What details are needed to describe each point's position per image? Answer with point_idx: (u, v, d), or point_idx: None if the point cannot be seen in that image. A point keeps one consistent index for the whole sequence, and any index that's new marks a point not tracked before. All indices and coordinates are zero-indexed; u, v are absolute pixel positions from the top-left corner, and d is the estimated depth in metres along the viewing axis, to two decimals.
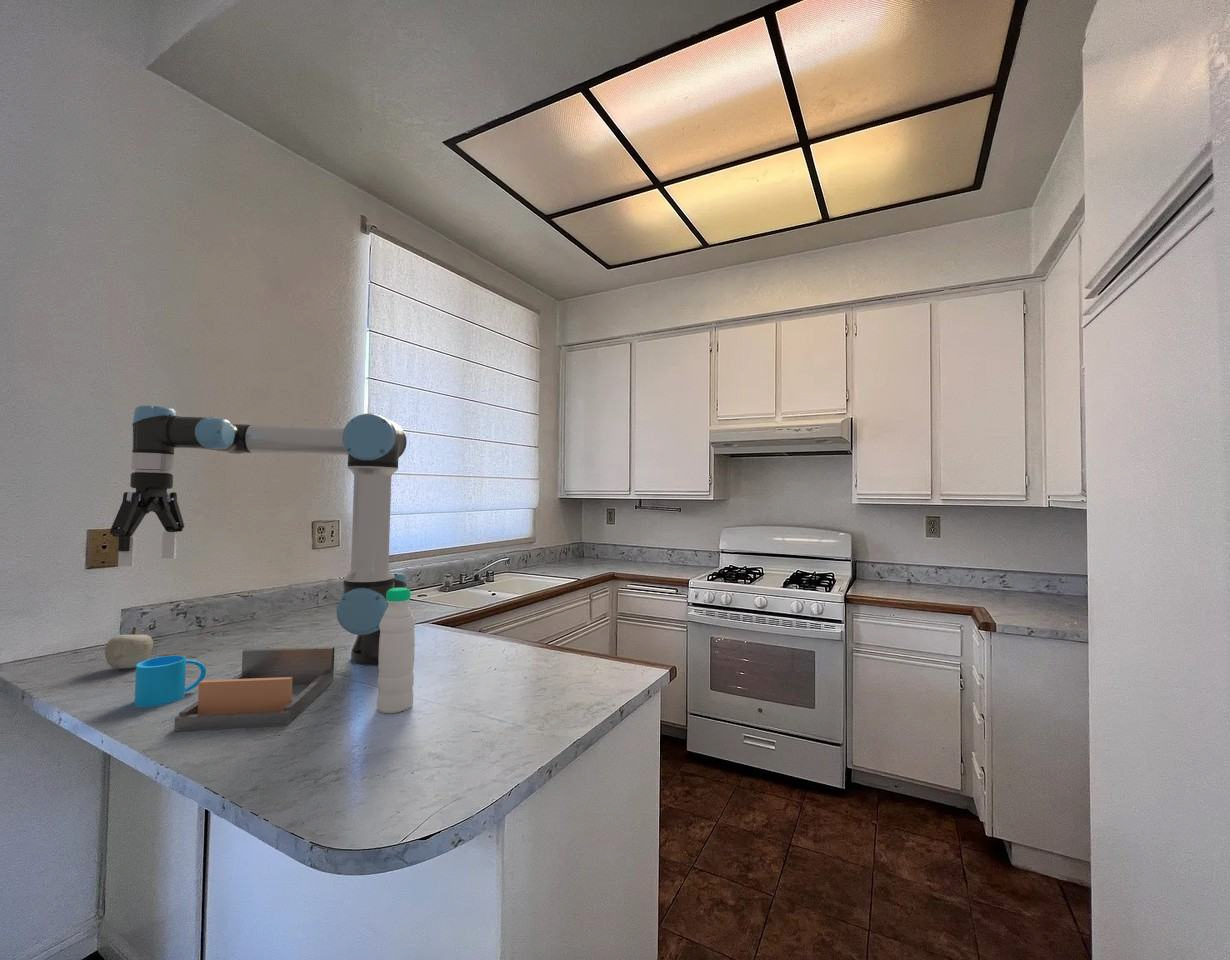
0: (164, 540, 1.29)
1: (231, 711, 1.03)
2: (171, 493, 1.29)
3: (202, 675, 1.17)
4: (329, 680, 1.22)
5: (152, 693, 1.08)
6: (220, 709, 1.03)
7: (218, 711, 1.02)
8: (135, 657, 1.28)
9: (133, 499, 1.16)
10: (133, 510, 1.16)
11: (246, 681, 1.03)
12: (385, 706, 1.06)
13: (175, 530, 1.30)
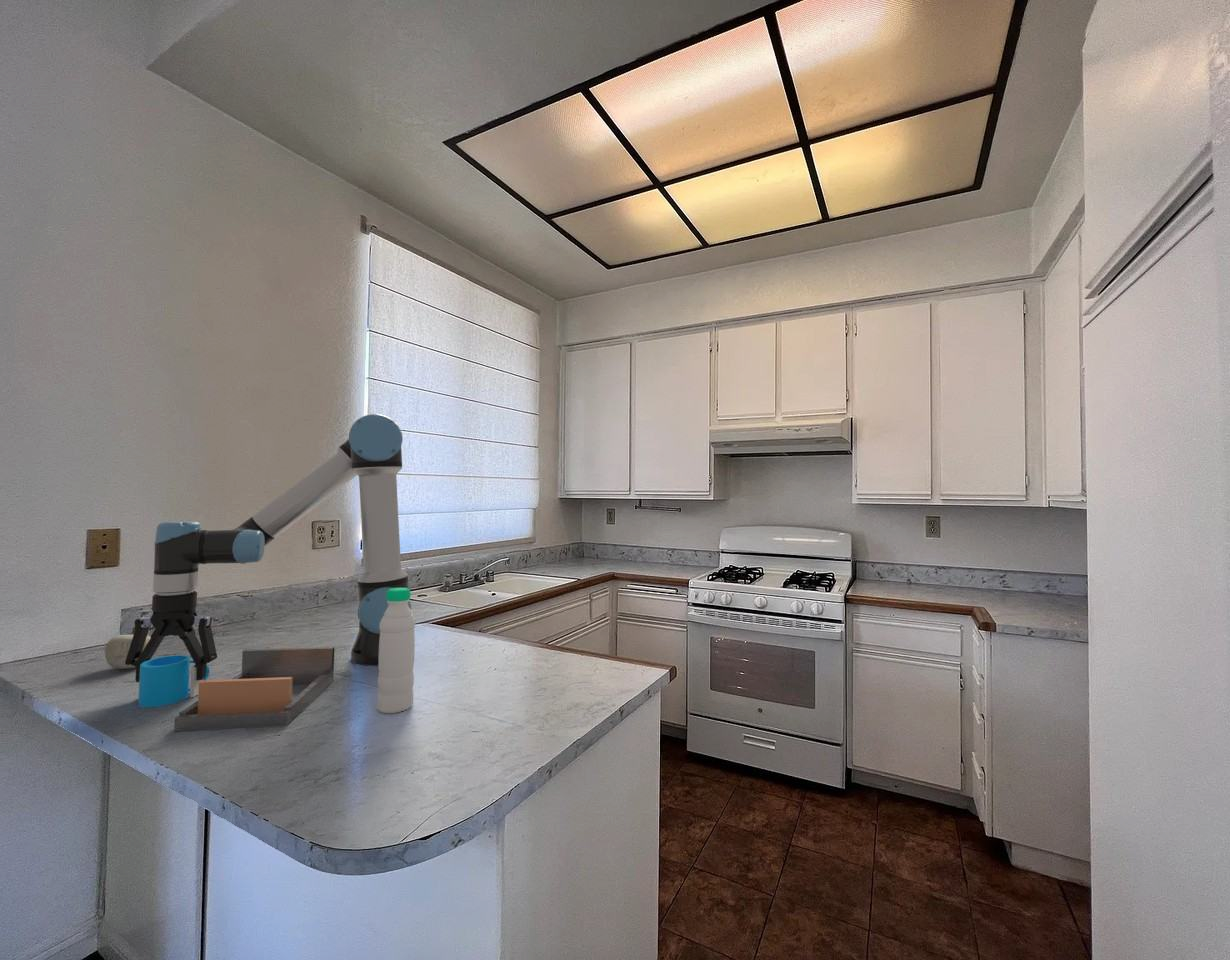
0: None
1: (231, 711, 1.03)
2: None
3: (206, 675, 1.18)
4: (329, 680, 1.22)
5: (156, 693, 1.08)
6: (220, 709, 1.03)
7: (218, 711, 1.02)
8: None
9: None
10: (135, 638, 1.11)
11: (246, 681, 1.03)
12: (385, 706, 1.06)
13: None
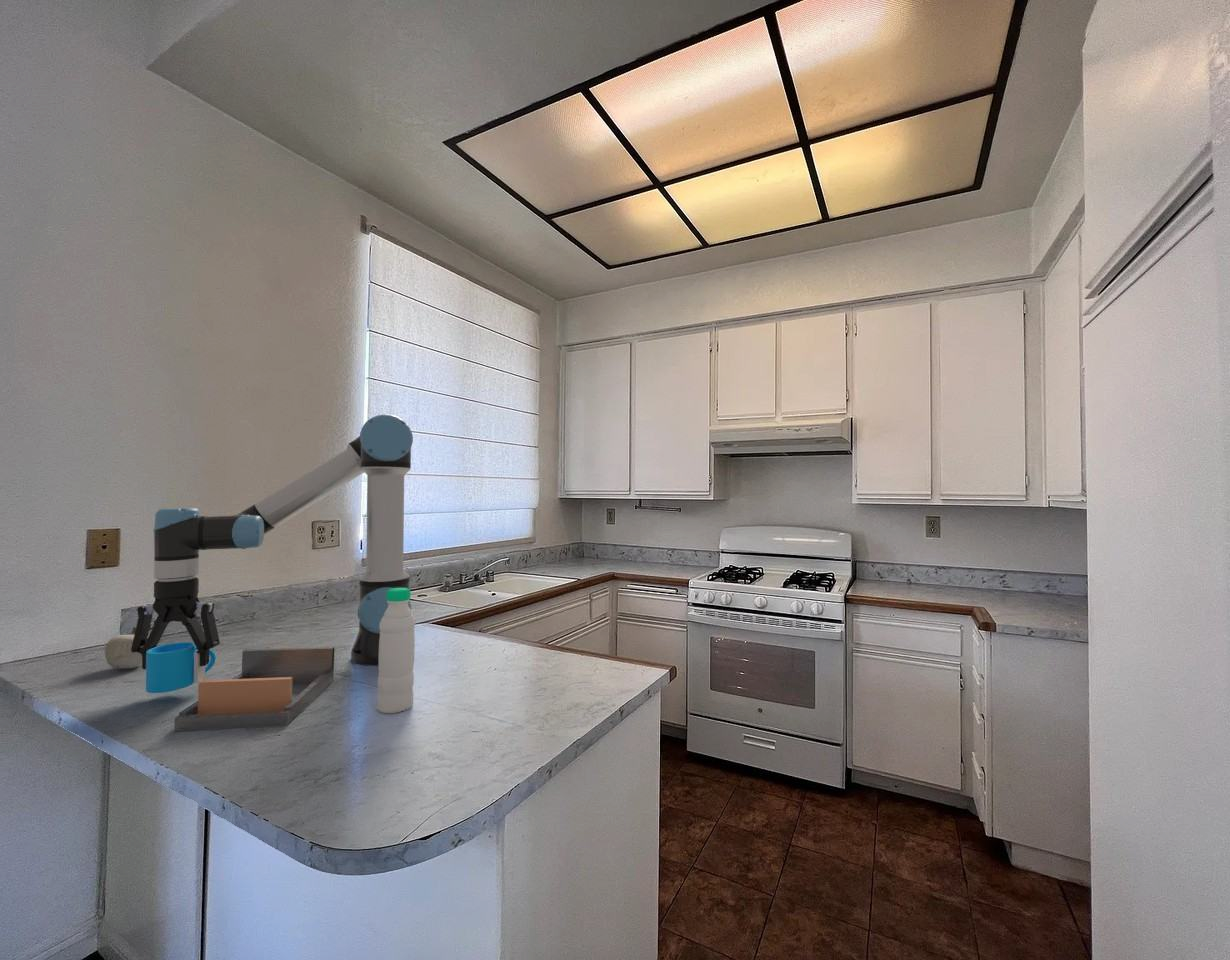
0: None
1: (231, 711, 1.03)
2: (204, 604, 1.14)
3: (212, 661, 1.18)
4: (329, 680, 1.22)
5: (163, 679, 1.09)
6: (220, 709, 1.03)
7: (218, 711, 1.02)
8: (135, 657, 1.28)
9: None
10: (139, 626, 1.12)
11: (246, 681, 1.03)
12: (385, 706, 1.06)
13: None
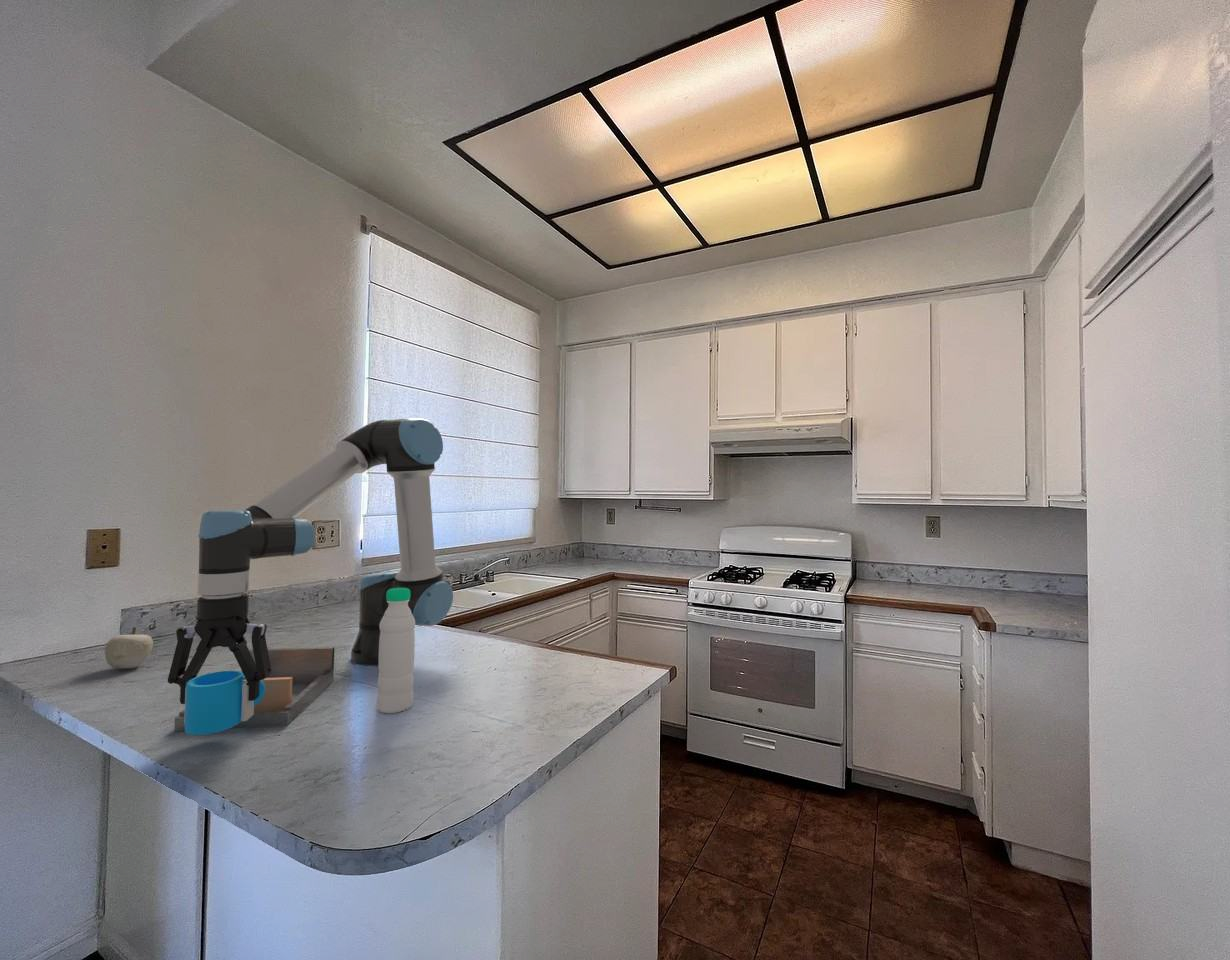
0: None
1: None
2: (256, 626, 0.96)
3: (261, 693, 0.99)
4: (329, 680, 1.22)
5: (207, 717, 0.90)
6: None
7: None
8: (135, 657, 1.28)
9: None
10: (178, 651, 0.93)
11: (246, 681, 1.03)
12: (385, 706, 1.06)
13: None
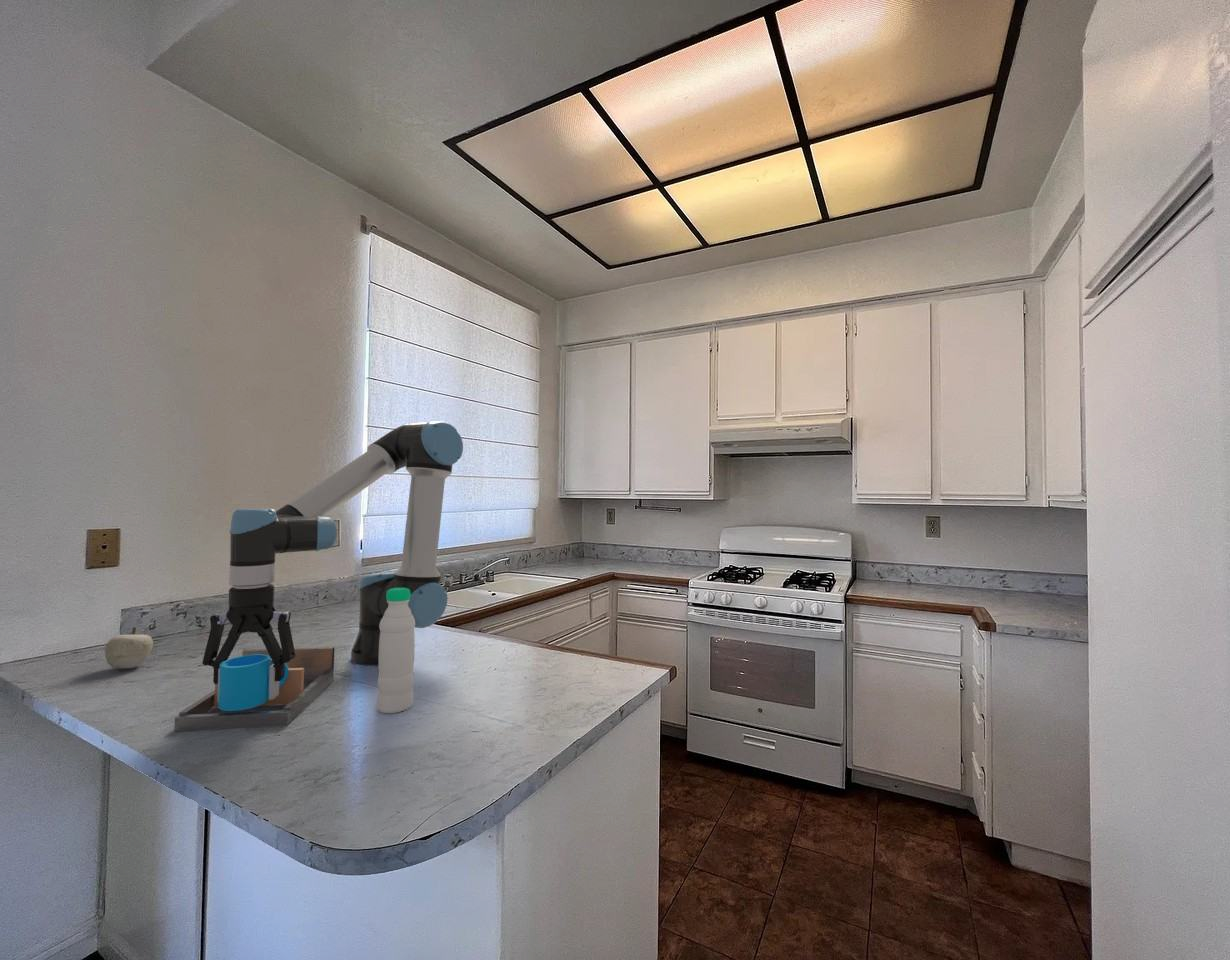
0: None
1: None
2: (281, 614, 1.05)
3: (285, 675, 1.09)
4: (329, 680, 1.22)
5: (239, 695, 1.00)
6: None
7: None
8: (135, 657, 1.28)
9: None
10: (212, 636, 1.03)
11: None
12: (385, 706, 1.06)
13: None
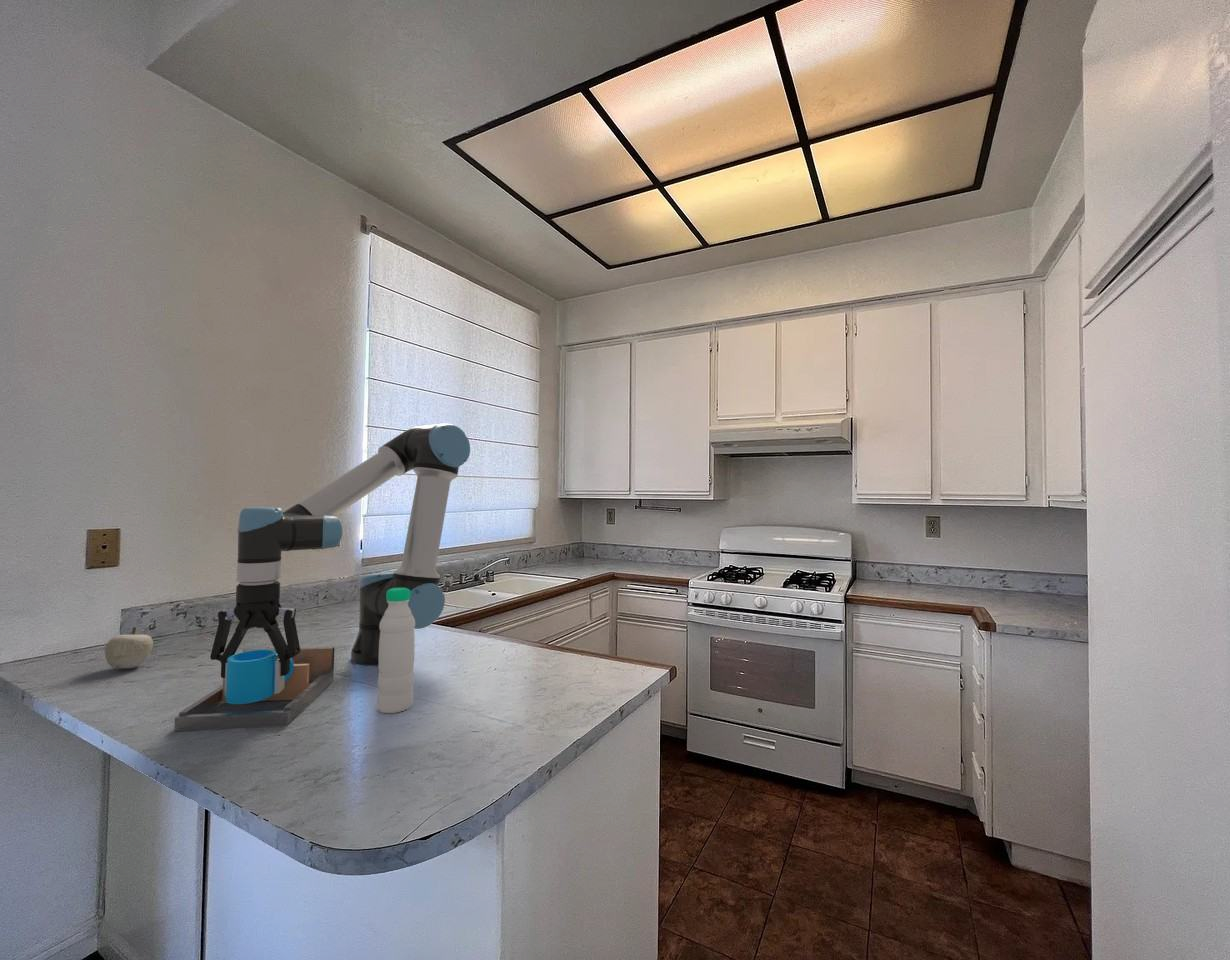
0: None
1: None
2: (287, 610, 1.08)
3: (290, 670, 1.11)
4: (329, 680, 1.22)
5: (246, 689, 1.02)
6: None
7: None
8: (135, 657, 1.28)
9: None
10: (219, 632, 1.05)
11: None
12: (385, 706, 1.06)
13: None
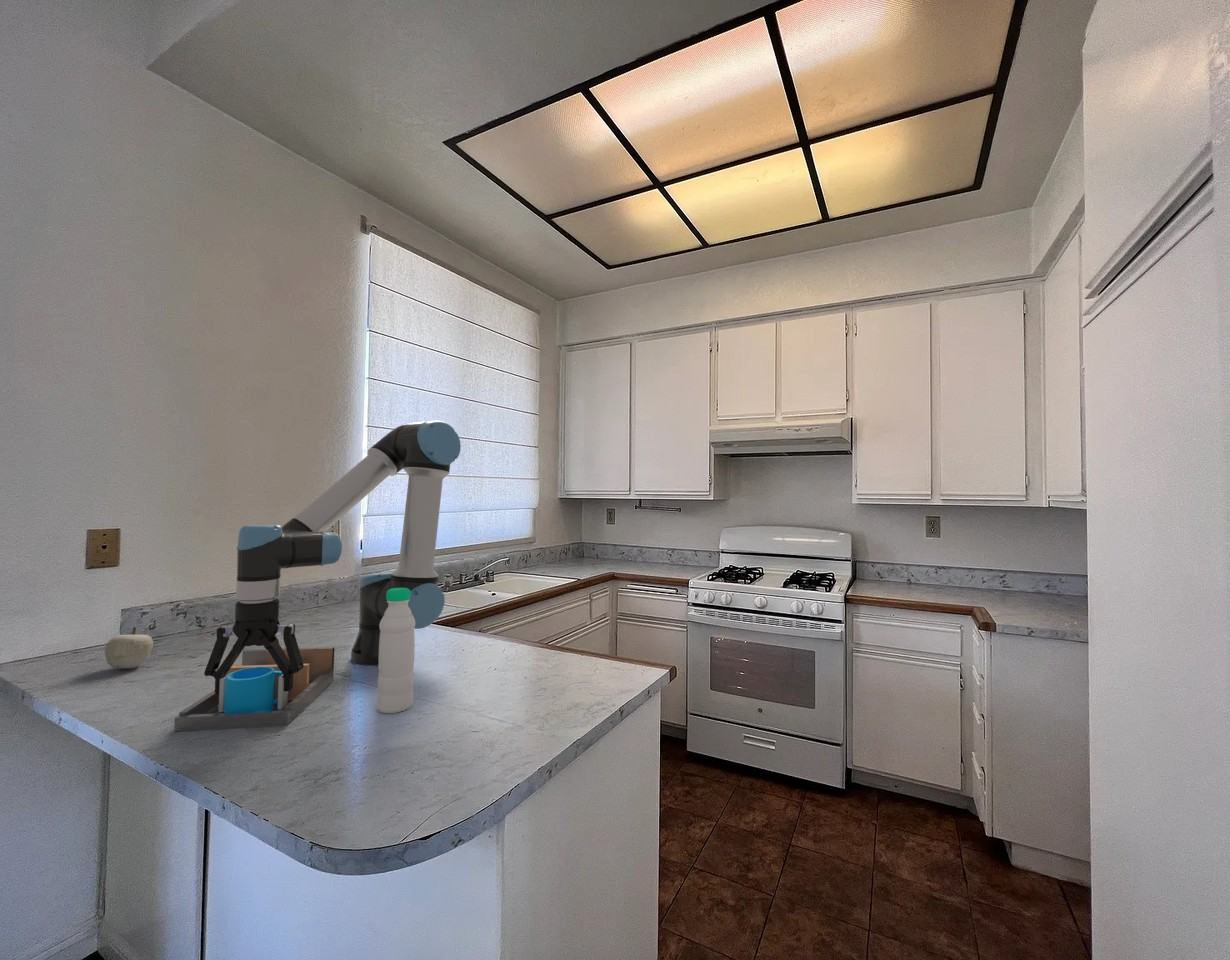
0: None
1: None
2: None
3: None
4: (329, 680, 1.22)
5: (244, 707, 1.02)
6: None
7: None
8: (135, 657, 1.28)
9: None
10: (216, 648, 1.05)
11: None
12: (385, 706, 1.06)
13: None
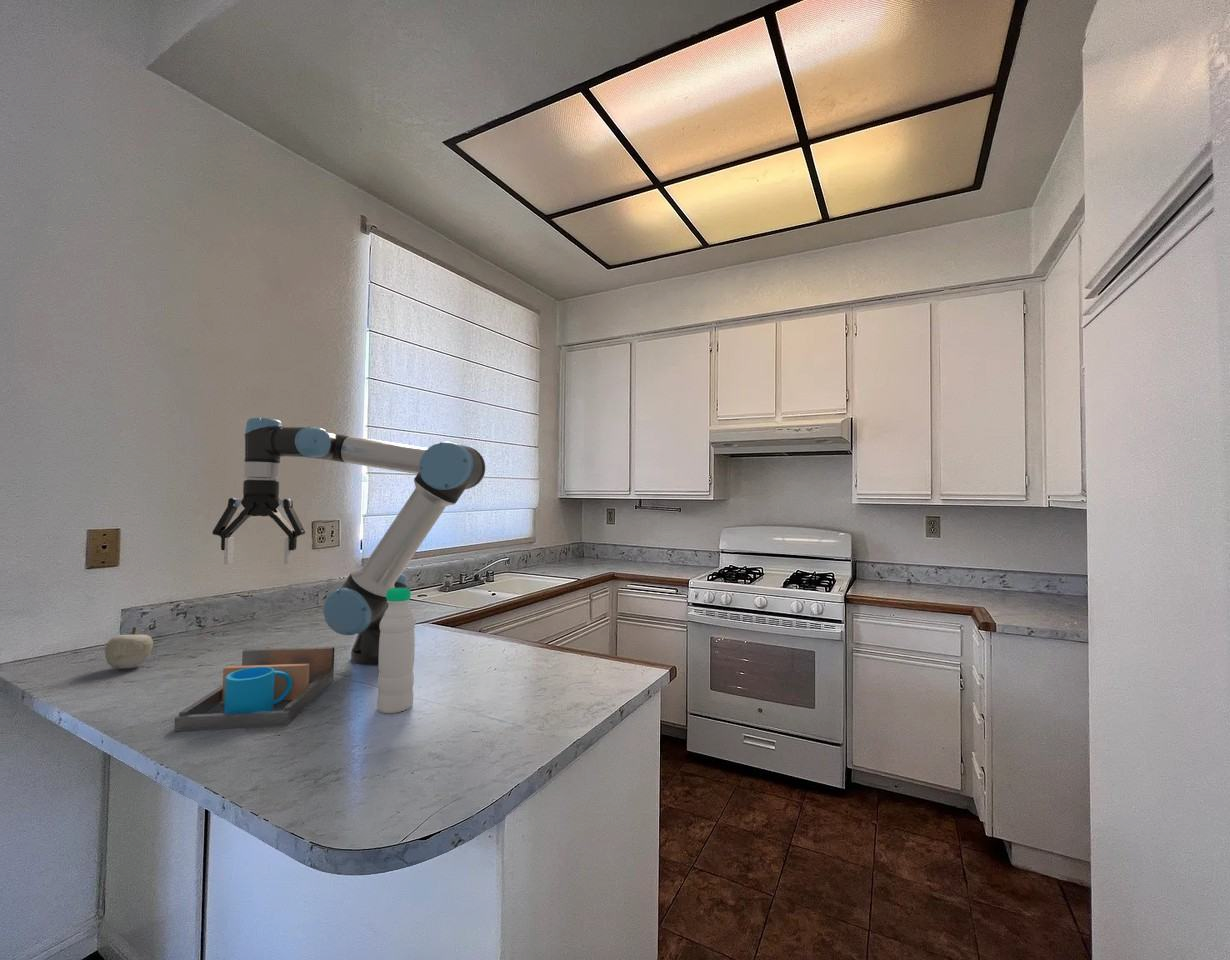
0: None
1: None
2: None
3: (289, 687, 1.11)
4: (329, 680, 1.22)
5: (244, 707, 1.02)
6: None
7: None
8: (135, 657, 1.28)
9: None
10: (225, 514, 1.29)
11: None
12: (385, 706, 1.06)
13: None
